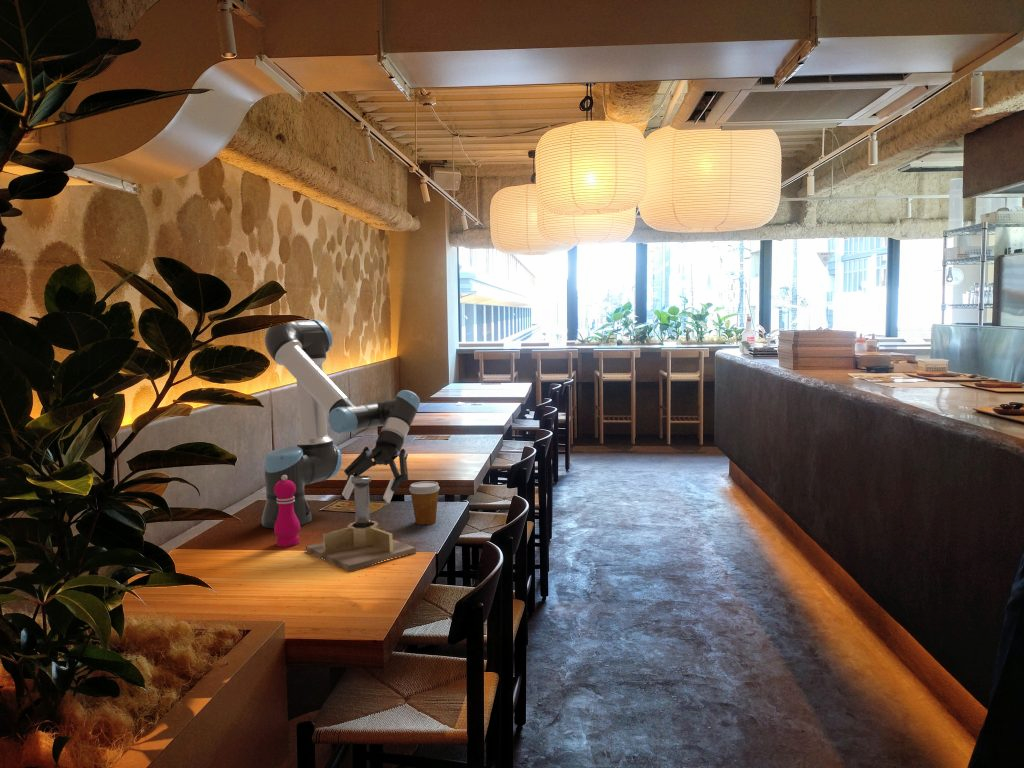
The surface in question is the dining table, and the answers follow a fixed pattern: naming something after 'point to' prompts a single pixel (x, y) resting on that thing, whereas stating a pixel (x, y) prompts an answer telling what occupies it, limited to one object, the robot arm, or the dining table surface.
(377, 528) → the beige ribbed socket
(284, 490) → the pepper mill
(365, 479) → the pin
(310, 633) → the dining table surface
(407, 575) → the dining table surface
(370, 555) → the mounting board
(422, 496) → the disposable coffee cup
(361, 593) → the dining table surface
